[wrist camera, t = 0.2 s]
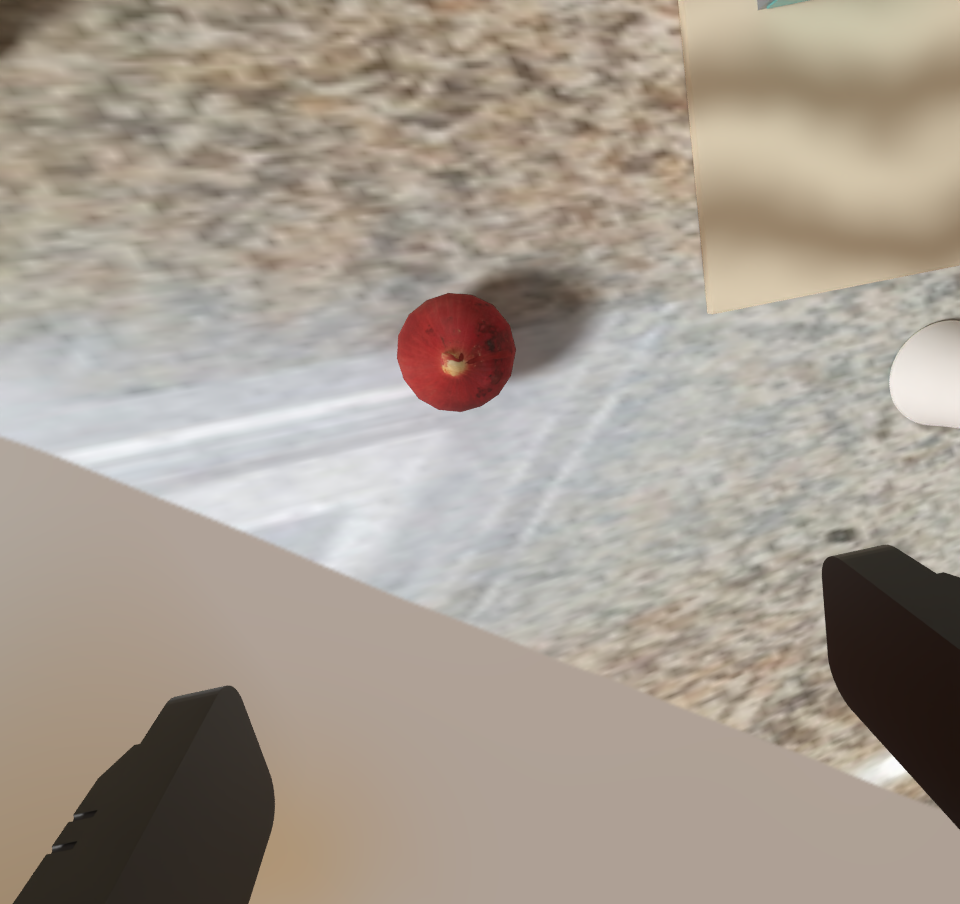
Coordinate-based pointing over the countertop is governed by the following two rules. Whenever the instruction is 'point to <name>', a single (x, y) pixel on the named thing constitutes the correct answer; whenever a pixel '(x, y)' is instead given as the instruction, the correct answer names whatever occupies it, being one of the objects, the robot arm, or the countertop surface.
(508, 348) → the onion
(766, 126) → the board
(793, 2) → the block
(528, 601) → the countertop surface
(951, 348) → the cosmetic bottle
